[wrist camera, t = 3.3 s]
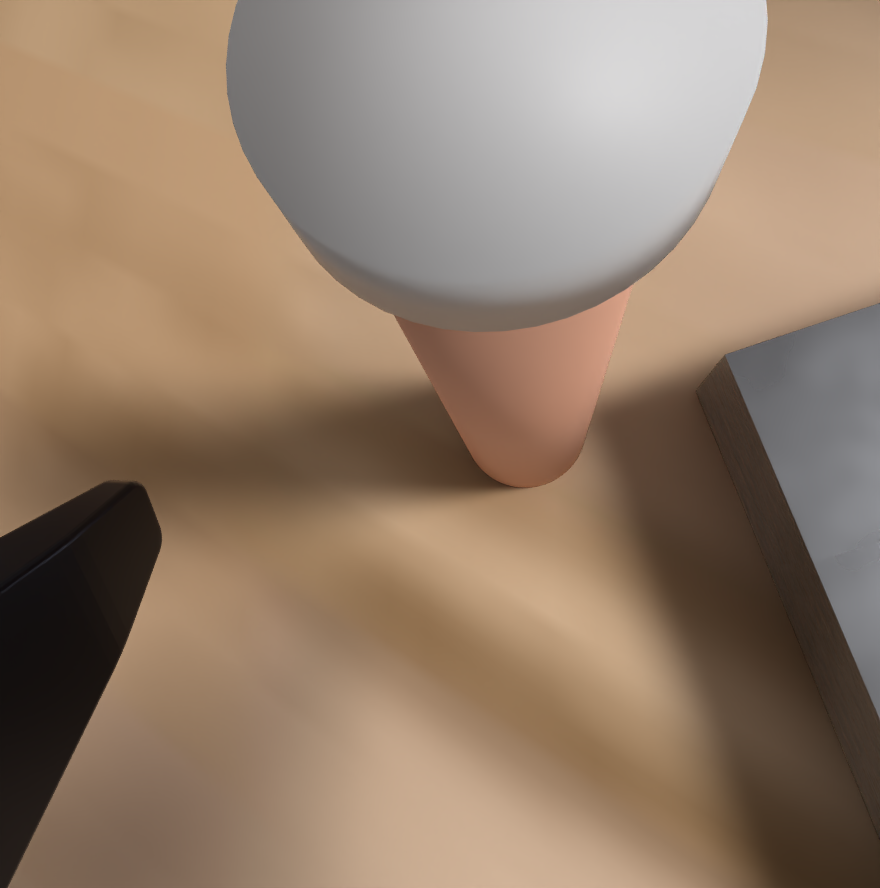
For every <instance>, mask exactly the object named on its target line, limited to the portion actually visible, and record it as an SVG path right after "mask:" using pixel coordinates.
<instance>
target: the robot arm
mask: <svg viewBox="0 0 880 888" xmlns="http://www.w3.org/2000/svg"><path fill="white" fill-rule="evenodd" d="M161 543H162V533H161V528H160V525H159V523H158V520H157V517H156V515H155V512H154V510H153V507H152V504H151V502H150V499H149V497H148V494H147V491H146V489H145V487H144V486H143V485H142V484H141V483H139V482H136V481H120V480H110V481H106V482H103V483H101V484H99V485H98V486H96V487H94V488H92V489H90V490H88V491H86V492H84V493H83V494H81V495H79V496H77V497H75V498H73V499H71V500H70V501H68V502H66V503H64V504H62V505H60V506H58V507H56V508H55V509H53V510H51V511H49V512H47V513H45V514H43V515H41V516H40V517H38V518H36V519H34V520H32V521H30V522H28V523H26V524H25V525H23V526H21V527H19V528H17V529H15V530H13V531H12V532H10V533H8V534H6V535H4V536H2V537H0V888H8V886H9V884H10V882H11V880H12V878H13V876H14V874H15V872H16V870H17V867H18V865H19V863H20V861H21V859H22V857H23V855H24V853H25V851H26V849H27V847H28V845H29V843H30V841H31V839H32V837H33V835H34V833H35V831H36V829H37V827H38V825H39V822H40V820H41V818H42V816H43V814H44V812H45V810H46V808H47V806H48V804H49V802H50V800H51V798H52V796H53V794H54V792H55V790H56V788H57V786H58V784H59V782H60V780H61V778H62V775H63V773H64V771H65V769H66V767H67V765H68V763H69V761H70V759H71V757H72V755H73V753H74V751H75V749H76V747H77V745H78V743H79V741H80V739H81V737H82V735H83V733H84V730H85V728H86V726H87V724H88V722H89V720H90V718H91V716H92V714H93V712H94V710H95V708H96V706H97V704H98V702H99V700H100V698H101V696H102V694H103V692H104V690H105V688H106V686H107V683H108V681H109V679H110V677H111V675H112V673H113V671H114V669H115V667H116V665H117V662H118V660H119V658H120V656H121V654H122V651H123V649H124V646H125V644H126V641H127V639H128V637H129V634H130V631H131V628H132V626H133V623H134V620H135V617H136V615H137V612H138V609H139V606H140V604H141V601H142V598H143V595H144V593H145V590H146V587H147V584H148V582H149V579H150V576H151V574H152V571H153V568H154V565H155V563H156V560H157V557H158V554H159V552H160V548H161Z"/></svg>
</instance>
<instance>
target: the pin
mask: <svg viewBox="0 0 880 888" xmlns="http://www.w3.org/2000/svg"><path fill="white" fill-rule="evenodd" d="M767 23H768V19H767V5H766V0H238V2H237V4H236V7H235V12H234V16H233V20H232V24H231V29H230V33H229V39H228V50H227V61H226V74H227V95H228V100H229V105H230V110H231V115H232V120H233V124H234V127H235V130H236V133H237V135H238V138H239V141H240V144H241V147H242V149H243V152H244V154H245V156H246V157H247V159H248V161H249V163H250V165H251V167H252V169H253V170H254V172H255V174H256V176H257V178H258V179H259V181H260V182H261V183H262V185H263V186H264V188H265V189H266V191H267V192H268V193H269V195H270V196H271V198H272V199H273V201H274V202H275V203H276V205H277V206H278V208H279V209H280V210H281V212H282V213H283V215H284V216H285V218H286V219H287V220H288V222H289V223H290V225H291V226H292V228H293V229H294V230H295V232H296V233H297V235H298V236H299V238H300V239H301V240H302V242H303V243H304V244H305V246H306V247H307V248H308V250H309V251H310V252H311V254H312V255H313V256H314V258H315V259H316V260H317V262H318V263H319V264H320V265H321V266H322V267H323V268H324V269H325V270H326V271H327V272H328V273H329V274H330V275H331V276H332V277H333V278H334V279H335V280H336V281H338V282H339V283H340V284H342V285H343V286H344V287H346V288H347V289H348V290H350V291H351V292H353V293H354V294H355V295H357V296H358V297H359V298H361V299H363V300H365V301H367V302H368V303H370V304H372V305H374V306H376V307H378V308H379V309H381V310H383V311H385V312H388V313H390V314H393V315H394V316H395V318H396V320H397V321H398V323H399V325H400V327H401V329H402V330H403V332H404V334H405V336H406V338H407V340H408V341H409V343H410V345H411V347H412V349H413V350H414V352H415V354H416V356H417V358H418V359H419V361H420V363H421V365H422V367H423V369H424V370H425V372H426V374H427V376H428V378H429V379H430V381H431V383H432V385H433V387H434V389H435V390H436V392H437V394H438V396H439V398H440V399H441V401H442V403H443V405H444V407H445V408H446V410H447V412H448V414H449V416H450V418H451V419H452V421H453V423H454V425H455V427H456V428H457V430H458V432H459V434H460V436H461V437H462V439H463V441H464V443H465V445H466V447H467V448H468V450H469V452H470V454H471V456H472V457H473V459H474V461H475V462H476V463H477V465H478V466H479V467H480V468H481V469H482V470H483V471H484V472H485V473H486V474H487V475H489V476H490V477H491V478H493V479H495V480H496V481H498V482H501V483H503V484H506V485H509V486H514V487H537V486H540V485H544V484H547V483H549V482H552V481H554V480H555V479H557V478H559V477H560V476H562V475H563V474H564V473H565V472H566V471H567V470H569V469H570V468H571V466H572V465H573V464H574V463H575V461H576V460H577V458H578V456H579V455H580V452H581V450H582V447H583V444H584V441H585V438H586V435H587V432H588V428H589V425H590V422H591V419H592V415H593V412H594V409H595V406H596V403H597V399H598V396H599V393H600V390H601V386H602V383H603V380H604V377H605V374H606V370H607V367H608V364H609V361H610V358H611V354H612V351H613V348H614V345H615V341H616V338H617V335H618V332H619V329H620V325H621V322H622V319H623V316H624V312H625V309H626V306H627V303H628V300H629V296H630V293H631V290H632V287H633V284H634V283H635V282H637V281H638V280H639V279H641V278H642V277H643V276H645V275H646V274H647V273H649V272H650V271H651V270H652V269H653V268H654V267H655V266H657V265H658V264H659V263H660V262H661V261H662V260H663V259H664V258H665V257H666V256H667V255H668V254H669V253H670V252H671V251H672V250H673V249H674V248H675V247H676V246H677V244H678V243H679V242H680V240H681V239H682V238H683V237H684V235H685V234H686V233H687V232H688V230H689V229H690V228H691V227H692V225H693V224H694V222H695V221H696V219H697V217H698V216H699V214H700V212H701V211H702V209H703V207H704V205H705V204H706V202H707V200H708V199H709V197H710V194H711V192H712V190H713V188H714V185H715V183H716V181H717V179H718V176H719V174H720V172H721V169H722V167H723V165H724V163H725V160H726V158H727V156H728V153H729V151H730V149H731V147H732V144H733V142H734V140H735V137H736V135H737V133H738V131H739V128H740V126H741V124H742V121H743V119H744V117H745V114H746V112H747V109H748V107H749V105H750V102H751V100H752V97H753V95H754V92H755V90H756V88H757V84H758V80H759V76H760V72H761V67H762V63H763V59H764V55H765V46H766V34H767Z"/></svg>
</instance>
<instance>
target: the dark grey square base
mask: <svg viewBox="0 0 880 888" xmlns="http://www.w3.org/2000/svg"><path fill="white" fill-rule="evenodd" d="M696 393H697V395H698V398H699V400H700V402H701V405H702V407H703V410H704V412H705V415H706V417H707V419H708V422H709V424H710V427H711V429H712V432H713V434H714V437H715V439H716V441H717V444H718V446H719V449H720V451H721V454H722V456H723V458H724V461H725V463H726V466H727V468H728V471H729V473H730V476H731V478H732V480H733V483H734V485H735V488H736V490H737V493H738V495H739V498H740V500H741V502H742V505H743V507H744V510H745V512H746V515H747V517H748V519H749V522H750V524H751V527H752V529H753V532H754V534H755V537H756V539H757V541H758V544H759V546H760V549H761V551H762V554H763V556H764V559H765V561H766V563H767V566H768V568H769V571H770V573H771V576H772V578H773V580H774V583H775V585H776V588H777V590H778V593H779V595H780V598H781V600H782V602H783V605H784V607H785V610H786V612H787V615H788V617H789V620H790V622H791V624H792V627H793V629H794V632H795V634H796V637H797V639H798V641H799V644H800V646H801V649H802V651H803V654H804V656H805V659H806V661H807V663H808V666H809V668H810V671H811V673H812V676H813V678H814V681H815V683H816V685H817V688H818V690H819V693H820V695H821V698H822V700H823V702H824V705H825V707H826V710H827V712H828V715H829V717H830V720H831V722H832V724H833V727H834V729H835V732H836V734H837V737H838V739H839V741H840V744H841V746H842V749H843V751H844V754H845V756H846V759H847V761H848V763H849V766H850V768H851V771H852V773H853V776H854V778H855V781H856V783H857V785H858V788H859V790H860V793H861V795H862V798H863V800H864V802H865V805H866V807H867V810H868V812H869V815H870V817H871V820H872V822H873V824H874V827H875V829H876V832H877V834H878V837H879V839H880V303H879V304H876V305H873V306H870V307H867V308H864V309H861V310H858V311H855V312H852V313H849V314H846V315H843V316H840V317H837V318H834V319H831V320H828V321H825V322H822V323H819V324H816V325H813V326H810V327H807V328H804V329H801V330H798V331H795V332H792V333H789V334H786V335H783V336H780V337H777V338H774V339H771V340H768V341H765V342H762V343H759V344H756V345H753V346H750V347H747V348H744V349H741V350H738V351H735V352H732V353H729V354H726V355H724V357H723V358H722V359H721V360H720V361H719V363H718V364H717V365H716V366H715V368H714V369H713V370H712V371H711V373H710V374H709V375H708V376H707V377H706V379H705V380H704V381H703V382H702V384H701V385H700V386H699V387H698V389H697V390H696Z"/></svg>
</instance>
